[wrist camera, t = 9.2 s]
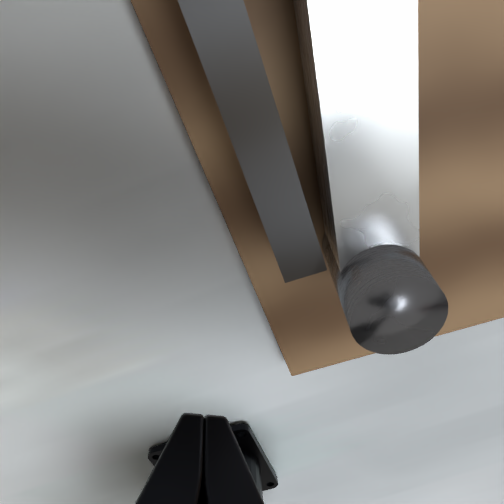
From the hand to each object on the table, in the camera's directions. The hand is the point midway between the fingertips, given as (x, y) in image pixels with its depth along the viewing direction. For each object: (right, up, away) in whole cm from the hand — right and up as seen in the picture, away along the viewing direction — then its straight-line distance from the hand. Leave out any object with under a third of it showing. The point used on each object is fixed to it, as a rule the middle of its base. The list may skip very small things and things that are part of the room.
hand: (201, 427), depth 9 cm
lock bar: (+4, +8, +8) cm, 12 cm away
